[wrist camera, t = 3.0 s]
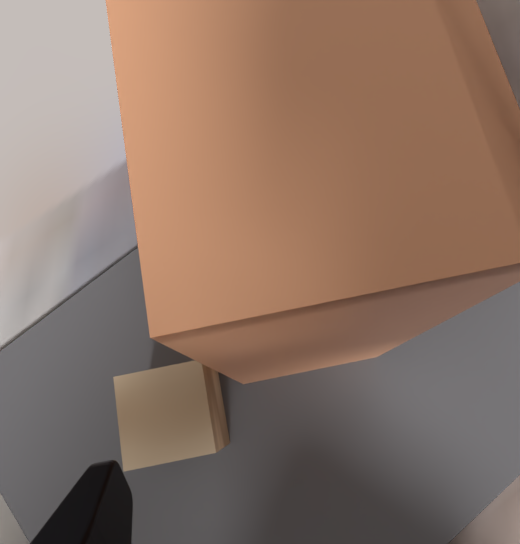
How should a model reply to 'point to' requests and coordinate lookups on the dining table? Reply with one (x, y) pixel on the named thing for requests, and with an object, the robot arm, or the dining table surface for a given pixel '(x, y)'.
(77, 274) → the dining table surface
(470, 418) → the mat
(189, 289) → the tan tall block
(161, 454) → the beige wooden cube
